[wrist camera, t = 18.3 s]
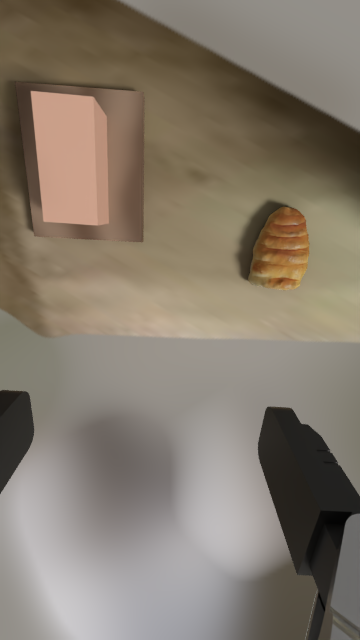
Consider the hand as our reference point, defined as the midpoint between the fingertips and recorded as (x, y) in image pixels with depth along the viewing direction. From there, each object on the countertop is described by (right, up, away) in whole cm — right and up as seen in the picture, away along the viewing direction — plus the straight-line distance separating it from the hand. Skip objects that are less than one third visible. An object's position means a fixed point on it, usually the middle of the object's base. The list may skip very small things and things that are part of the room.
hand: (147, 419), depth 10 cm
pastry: (+13, +12, +25) cm, 30 cm away
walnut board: (-9, +20, +21) cm, 30 cm away
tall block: (-9, +13, +19) cm, 25 cm away
